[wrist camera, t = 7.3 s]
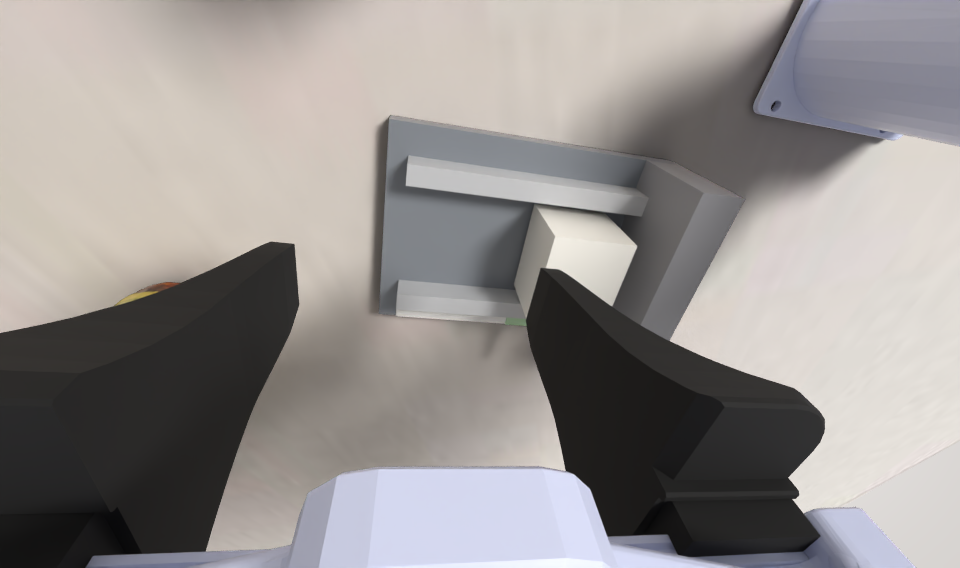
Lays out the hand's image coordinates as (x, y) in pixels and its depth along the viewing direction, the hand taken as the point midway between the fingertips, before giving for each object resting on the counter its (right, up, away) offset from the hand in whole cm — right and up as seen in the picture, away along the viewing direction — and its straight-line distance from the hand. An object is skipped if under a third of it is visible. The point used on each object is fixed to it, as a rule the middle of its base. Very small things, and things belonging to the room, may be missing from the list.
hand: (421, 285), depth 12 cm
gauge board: (+4, +3, +11) cm, 12 cm away
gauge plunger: (+6, +1, +11) cm, 13 cm away
